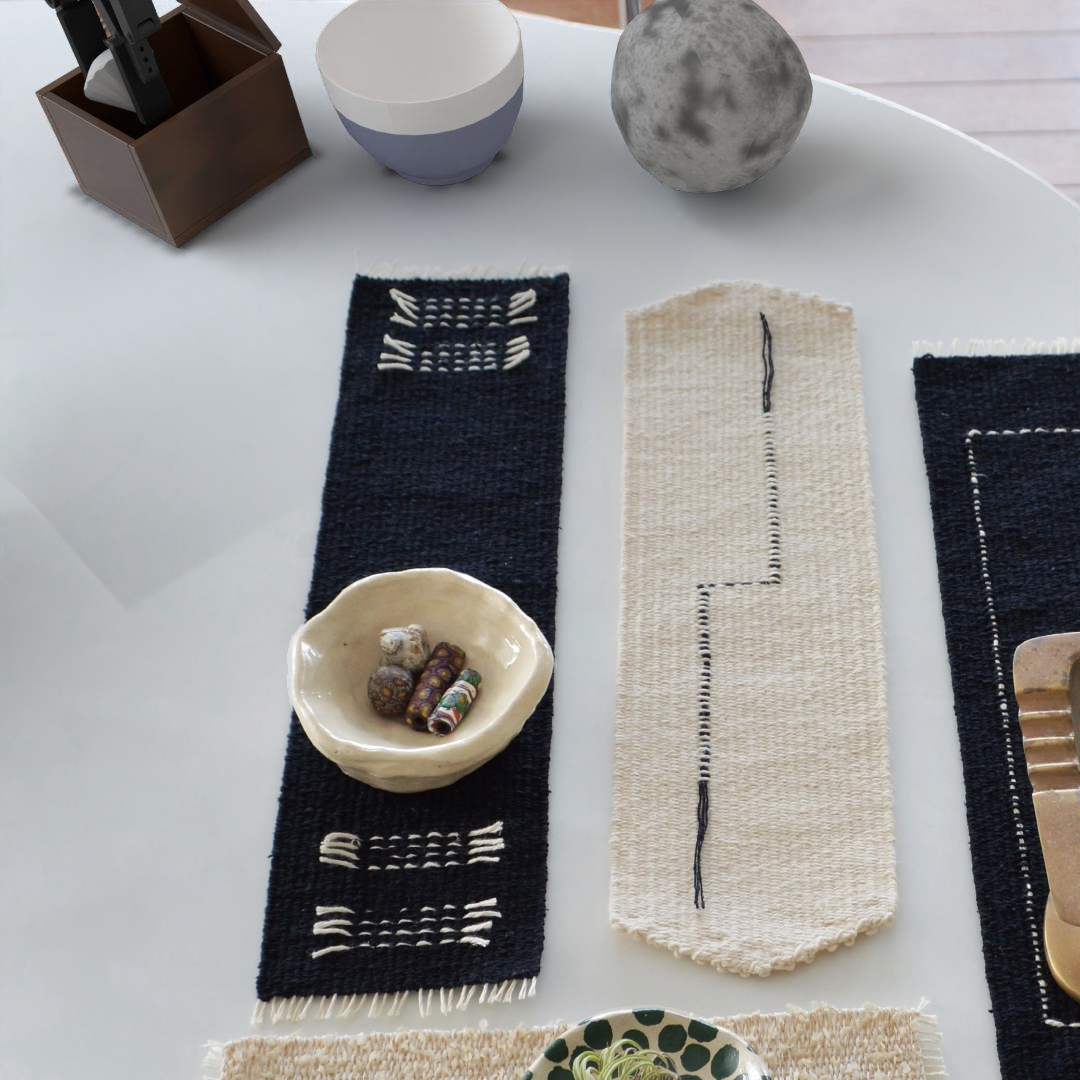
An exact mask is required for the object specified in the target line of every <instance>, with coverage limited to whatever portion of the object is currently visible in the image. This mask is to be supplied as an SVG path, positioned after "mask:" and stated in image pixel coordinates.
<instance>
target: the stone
mask: <svg viewBox="0 0 1080 1080" xmlns="http://www.w3.org/2000/svg"><path fill="white" fill-rule="evenodd" d="M813 87H814V86H813V82H812V77H811V74H810V72H809V69H808V66H807V63H806V60H805V59H804V56H803V54H802V51H801V50H800V49H799V47H798V45H797V44H796V42H795V41H794V39H793V38H792V37H791V36H790V34H789V33H788V31H786V29H785V28H784V27H783V26H782V25H781V24H780V23H779V22H778V21H777V20H776V18H775V17H773V15H771V14H770V13H769V12H768V11H766V10H765V8H763V7H762V6H761V5H759V4H758V3H757V2H755V1H754V0H655V1H653V2H652V3H651V4H650V5H648V6H647V7H645V8H643V9H642V10H641V11H640V12H639V13H638V14H637V15H636V16H635V17H634V18H633V19H631V20H630V22H628V24H627V26H625V28H624V29H623V31H622V33H621V35H620V36H619V40H618V42H617V45H616V49H615V54H614V59H613V63H612V70H611V83H610V104H611V105H610V106H611V110H612V114H613V117H614V120H615V122H616V125H617V127H618V130H619V132H620V134H621V136H622V139H623V141H624V143H625V145H626V147H627V149H628V150H629V152H630V154H631V156H633V158H634V159H635V161H636V162H637V164H638V165H639V166H640V167H641V168H642V169H643V170H644V171H645V172H647V173H648V174H649V175H650V176H652V177H653V179H655V180H656V181H658V182H660V183H661V184H663V185H665V186H666V187H668V188H670V189H672V190H676V191H681V192H687V193H697V194H705V193H707V194H708V193H716V192H717V193H718V192H723V191H729V190H734V189H738V188H740V187H743V186H746V185H747V184H750V183H752V182H755V181H756V180H757V181H758V179H760V178H762V177H763V176H765V175H766V174H768V173H769V172H770V171H771V170H773V169H774V168H775V167H777V166H778V165H779V164H780V162H781V161H782V160H783V159H784V158H785V157H786V156H787V154H788V153H789V152H790V150H791V149H792V147H793V146H794V144H795V142H796V141H797V139H798V137H799V135H800V134H801V131H802V129H803V126H804V124H805V122H806V120H807V117H808V114H809V111H810V108H811V106H812V101H813V93H814V92H813V91H814V88H813Z"/></svg>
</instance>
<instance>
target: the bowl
mask: <svg viewBox="0 0 1080 1080" xmlns="http://www.w3.org/2000/svg"><path fill="white" fill-rule="evenodd" d="M318 35H319V36H318V38H317V41H316V43H315V53H314V56H315V57H314V58H315V62H316V65H317V70H318V72H319V75H320V78H321V80H322V83H323V86H324V88H325V91H326V93H327V96H328V99H329V101H330V102H331V104H332V106H333V108H334V110H335V111H336V114H337V115H338V117H339V119H340V121H341V123H342V126H344V128H345V130H346V131H347V133H348V135H350V137H351V138H352V139H354V141H355V142H356V143H357V144H358V145H359V146H360V147H361V148H362V149H363V150H364V151H365V152H366V153H367V154H368V155H369V156H370V157H372V159H374V160H375V161H376V162H378V163H379V164H381V165H383V166H384V167H386V168H388V169H391V170H393V171H394V172H395V173H396V174H398V175H399V176H400V177H402V178H404V179H406V180H407V181H410V182H413V183H416V184H421V185H429V186H444V185H445V186H446V185H452V184H457V183H461V182H464V181H466V180H469V179H471V178H473V177H475V176H477V175H479V174H480V173H482V172H484V171H485V170H486V169H487V168H488V167H490V165H491V164H492V163H493V161H494V160H495V158H496V156H497V153H499V151H500V150H501V149H502V148H503V147H504V146H505V145H506V144H507V142H508V140H509V139H510V138H511V136H512V133H513V130H514V128H515V125H516V123H517V120H518V117H519V114H520V112H521V108H522V106H523V101H524V81H525V80H524V79H525V77H524V76H525V60H524V49H523V48H524V47H523V39H522V30H521V27H520V24H519V22H518V20H517V17H516V16H515V14H513V12H512V11H511V10H510V9H509V7H507V5H505V4H504V3H503V2H501V1H500V0H355V1H353V2H351V3H350V4H348V5H347V6H345V7H344V8H342V9H340V10H339V11H338V12H336V14H335V15H334V16H332V17H331V18H330V19H329V20H328V21H327V23H326V24H325V26H324V27H323V28H322V29H321V31H320V33H319V34H318Z"/></svg>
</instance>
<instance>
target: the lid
mask: <svg viewBox="0 0 1080 1080" xmlns="http://www.w3.org/2000/svg"><path fill="white" fill-rule="evenodd" d="M175 1H176V3H179V4H180V5H181V4H182V5H184V6H186V7H188V8H190V9H192V10H194V11H196V12H198V13H200V14H202V15H204V16H206V17H208V18H210V19H212V20H214V21H216V22H218V23H220V24H222V25H224V26H226V27H227V28H229V29H231V30H233V31H235V32H237V33H239V34H241V35H243V36H245V37H247V38H249V39H251V40H253V41H255V42H257V43H259V44H261V45H263V46H265V47H267V48H269V49H270V50H272V51H274V52H276V53H278V52H279V50H280V49H281V48H282V47H283V44H282V43H281V41H280V40H279V38H278V37H277V35H276V34H275V33H274V32H273V30H272V29H271V28H270V27H269V25H268V24H267V23H266V22H265V21H264V19H263V18H262V16H261V15H260V14H259V13H258V11H257V10H256V8H255V7H254V6H253V4H252V3H251V2H250V0H175Z"/></svg>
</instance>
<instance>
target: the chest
mask: <svg viewBox="0 0 1080 1080" xmlns="http://www.w3.org/2000/svg"><path fill="white" fill-rule="evenodd" d="M159 17H160V18H159V19H160V22H161V25H162V28H161V29H160V30H158V31H156V32H155V33H153V34H151V35H150V36H148V37H147V40H148V42H149V45H150V47H151V49H152V50H153V55H154V57H155V60H156V62H157V65H158V67H159V70H160V72H161V75H162V78H163V80H164V83H165V85H166V88H167V90H168V93H169V95H170V98H171V100H172V103H173V105H174V109H172V110H171V111H169V112H168V113H166V114H165V115H163V116H161V117H160V118H158V119H157V120H155V121H154V122H152V123H150V124H149V125H145V124H143V123H141V122H140V120H139V117H138V115H137V113H136V112H133V111H129V110H126V109H122V108H119V107H115V106H112V105H108V104H104V103H101V102H97V101H94V100H90V99H89V98H87V97H86V96H85V93H84V87H85V83H86V80H85V78H84V76H83V73H82V71H81V69H80V67H79V65H78V66H77V67H75V68H73V69H71V70H70V71H68V72H66V73H65V74H63V75H61V76H59V77H58V78H56V79H55V80H53V81H51V82H49V83H48V84H46V85H44V86H43V87H41V88H40V89H38V90H36V91H35V92H34V94H35V95H36V98H37V100H38V102H39V104H40V107H41V108H42V110H43V113H44V115H45V117H46V119H47V121H48V123H49V125H50V127H51V130H52V131H53V133H54V135H55V137H56V140H57V142H58V144H59V146H60V148H61V150H62V152H63V154H64V157H65V158H66V160H67V163H68V165H69V167H70V170H71V171H72V173H73V176H74V178H75V180H76V181H77V183H78V186H79V188H80V190H81V192H82V193H84V194H86V195H87V196H89V197H91V198H92V199H93V200H96V201H97V202H98V203H101V204H102V205H104V206H106V207H107V208H109V209H111V210H113V211H114V212H115V213H118V214H119V215H121V216H122V217H124V218H126V219H127V220H129V221H130V222H133V223H134V224H136V225H137V226H139V227H142V229H144V230H146V231H148V232H150V233H152V235H155V236H156V237H158V238H160V239H161V240H163V241H165V242H166V243H168V244H169V245H172V246H173V247H174V248H180V247H181V246H183V245H184V244H185V243H187V242H188V241H190V240H191V239H192V238H195V236H197V235H198V234H200V233H201V232H203V231H204V230H206V229H208V228H209V227H210V226H211V225H213V224H214V223H216V222H217V221H218V220H220V219H222V218H223V217H225V216H226V215H227V214H229V213H231V212H232V211H233V210H235V209H236V208H238V207H239V206H241V205H242V204H243V203H245V202H246V201H248V200H249V199H251V198H252V197H254V196H255V195H257V194H258V193H260V192H261V191H262V190H265V188H267V187H268V186H270V185H271V184H272V183H274V182H276V181H277V180H279V178H281V177H283V176H284V175H285V174H287V173H288V172H290V171H291V170H293V169H294V168H296V167H297V166H299V165H300V164H302V163H303V162H304V161H306V160H307V159H309V158H310V157H312V156H313V151H312V148H311V146H310V143H309V140H308V135H307V133H306V130H305V127H304V122H303V120H302V116H301V113H300V111H299V106H298V104H297V101H296V98H295V95H294V92H293V88H292V84H291V82H290V79H289V75H288V72H287V69H286V66H285V64H284V63H285V62H284V59H283V56H282V54H280V53H278V52H274V51H272V50H270V49H269V48H267V47H265V46H263V45H261V44H259V43H257V42H255V41H253V40H251V39H249V38H247V37H245V36H243V35H241V34H239V33H237V32H235V31H233V30H231V29H229V28H227V27H226V26H224V25H222V24H220V23H218V22H216V21H214V20H212V19H210V18H208V17H206V16H204V15H202V14H200V13H198V12H196V11H194V10H192V9H190V8H188V7H186V6H184V5H182V4H181V3H180V5H178V6H177V7H174V8H173V9H171V10H170V11H168V12H166V13H164V14H163V15H162V16H159Z"/></svg>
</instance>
